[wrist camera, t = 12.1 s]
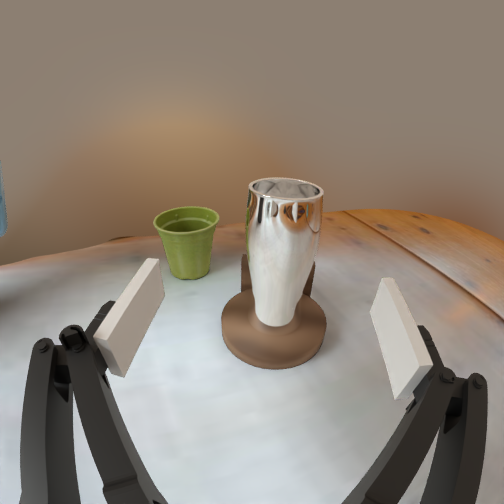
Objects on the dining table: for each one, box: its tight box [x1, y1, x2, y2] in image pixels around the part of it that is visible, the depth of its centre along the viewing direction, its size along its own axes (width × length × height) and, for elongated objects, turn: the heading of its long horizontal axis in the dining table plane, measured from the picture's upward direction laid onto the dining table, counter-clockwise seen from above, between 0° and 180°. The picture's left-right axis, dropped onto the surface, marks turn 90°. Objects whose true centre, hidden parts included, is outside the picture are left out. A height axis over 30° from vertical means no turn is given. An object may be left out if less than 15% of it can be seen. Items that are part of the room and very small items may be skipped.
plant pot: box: [154, 206, 219, 280], centre depth 41 cm, size 9×9×9 cm
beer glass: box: [245, 178, 324, 336], centre depth 28 cm, size 7×7×15 cm
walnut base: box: [221, 254, 326, 369], centre depth 31 cm, size 13×12×6 cm
